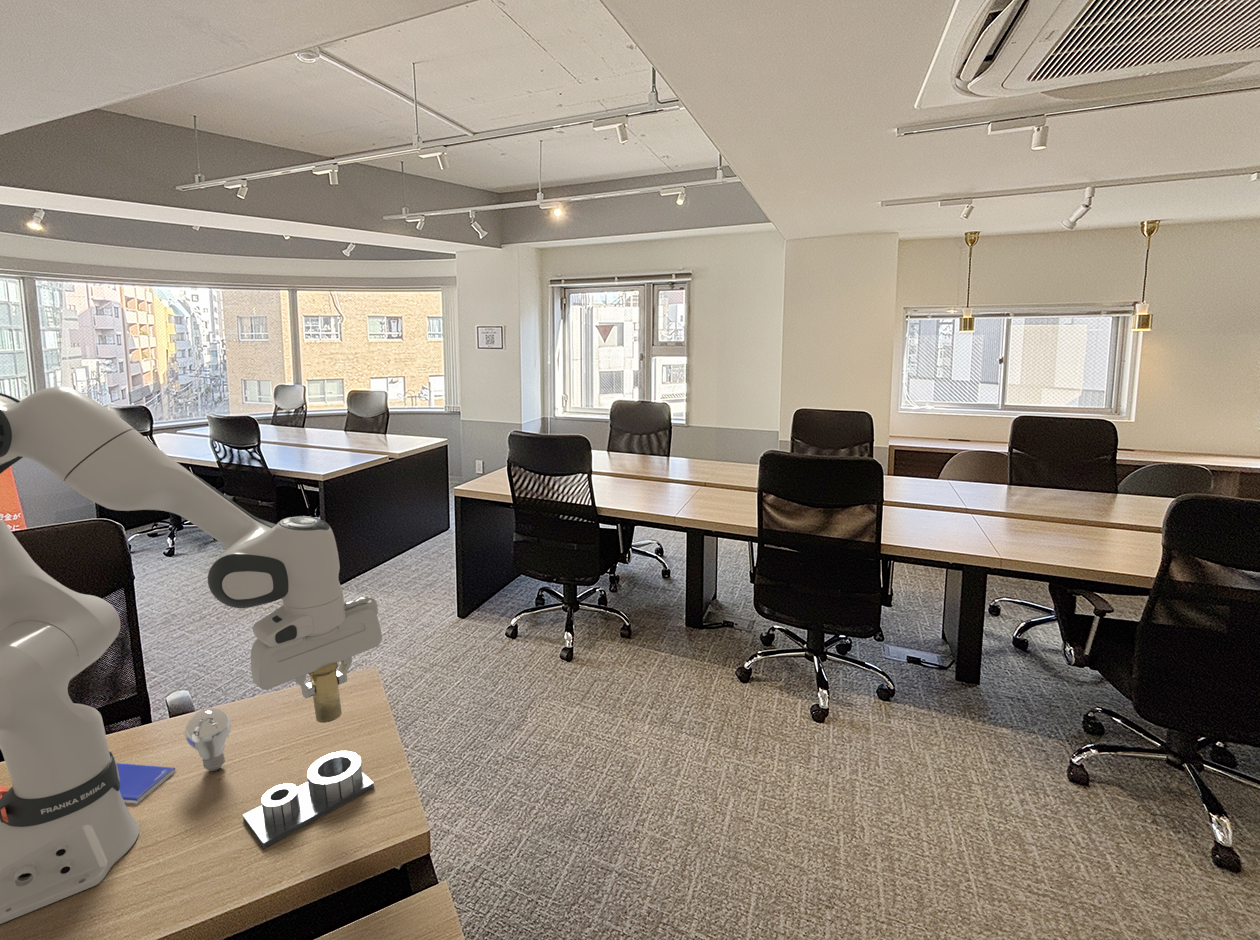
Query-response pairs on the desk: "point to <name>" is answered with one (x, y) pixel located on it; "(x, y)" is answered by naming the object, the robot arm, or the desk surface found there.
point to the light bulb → (209, 736)
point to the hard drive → (140, 780)
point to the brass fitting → (326, 693)
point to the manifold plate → (308, 797)
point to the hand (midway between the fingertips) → (325, 688)
